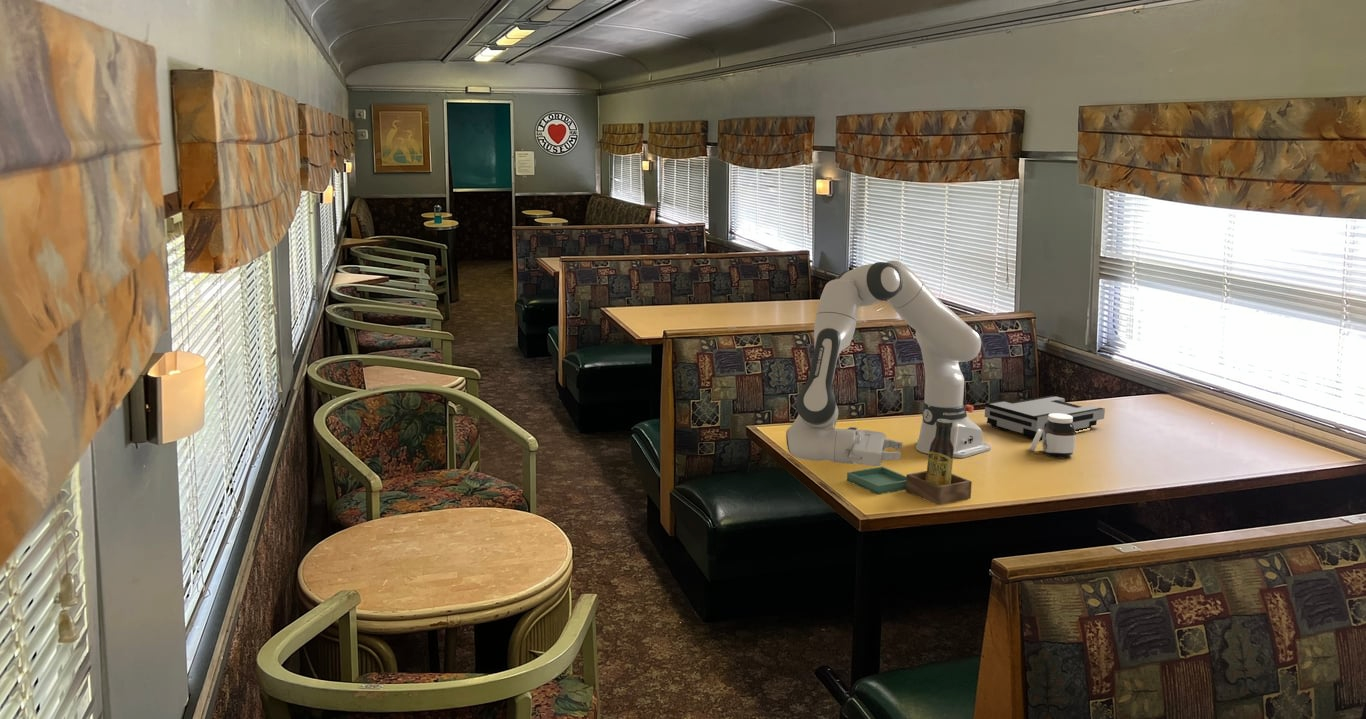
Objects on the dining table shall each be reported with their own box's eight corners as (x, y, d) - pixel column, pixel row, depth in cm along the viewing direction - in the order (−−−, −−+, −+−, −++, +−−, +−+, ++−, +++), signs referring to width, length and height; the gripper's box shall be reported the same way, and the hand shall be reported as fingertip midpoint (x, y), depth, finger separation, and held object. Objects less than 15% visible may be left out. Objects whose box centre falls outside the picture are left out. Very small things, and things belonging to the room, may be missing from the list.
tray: (882, 474, 293) (882, 466, 293) (913, 487, 282) (914, 479, 282) (846, 480, 288) (847, 472, 287) (877, 494, 277) (878, 486, 276)
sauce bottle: (920, 494, 277) (925, 420, 273) (931, 489, 282) (936, 415, 278) (944, 500, 273) (949, 424, 269) (954, 494, 278) (959, 420, 274)
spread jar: (1077, 459, 311) (1080, 420, 308) (1039, 459, 310) (1042, 420, 307) (1060, 447, 322) (1063, 410, 320) (1023, 447, 321) (1026, 410, 319)
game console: (1102, 429, 344) (1105, 404, 343) (1035, 443, 328) (1037, 417, 326) (1050, 415, 362) (1052, 391, 360) (983, 427, 345) (985, 402, 343)
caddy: (938, 484, 285) (939, 468, 284) (970, 498, 275) (971, 481, 274) (905, 490, 280) (906, 474, 279) (937, 504, 269) (938, 487, 269)
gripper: (844, 445, 270) (900, 449, 267) (851, 425, 290) (904, 429, 286) (843, 469, 272) (898, 474, 268) (850, 447, 291) (902, 451, 288)
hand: (901, 450), depth 278 cm, fingers open, 8 cm apart
